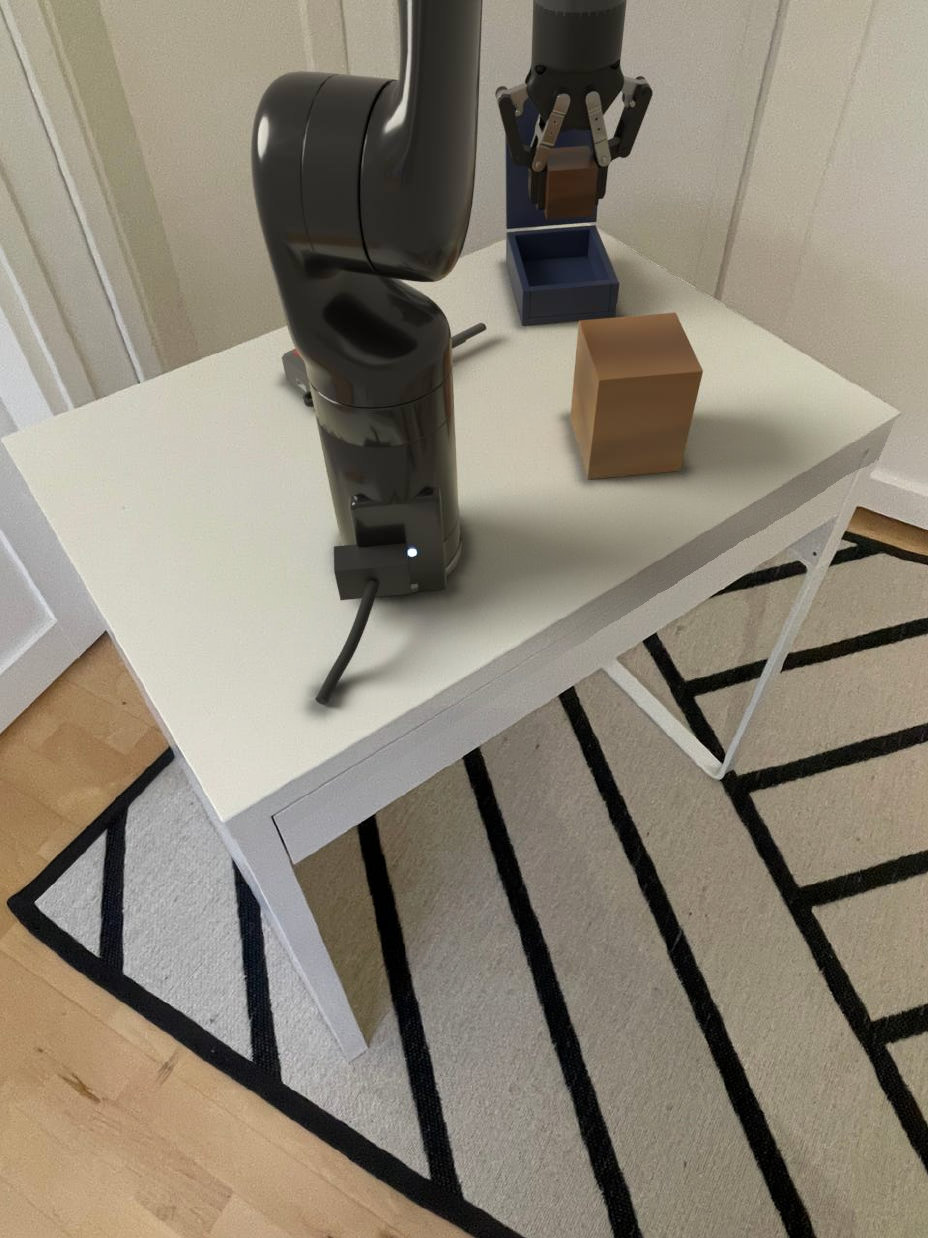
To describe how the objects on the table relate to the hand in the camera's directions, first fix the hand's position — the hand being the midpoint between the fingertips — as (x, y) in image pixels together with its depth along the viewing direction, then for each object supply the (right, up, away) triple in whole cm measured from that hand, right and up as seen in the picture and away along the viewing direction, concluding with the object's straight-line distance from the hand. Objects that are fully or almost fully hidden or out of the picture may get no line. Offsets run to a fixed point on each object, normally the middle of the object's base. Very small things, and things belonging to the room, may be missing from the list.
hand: (566, 203), depth 82 cm
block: (0, 0, 0) cm, 0 cm away
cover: (-1, +6, +4) cm, 7 cm away
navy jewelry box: (0, -5, +8) cm, 10 cm away
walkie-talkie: (-17, -15, +1) cm, 23 cm away
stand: (+4, -25, -7) cm, 26 cm away
